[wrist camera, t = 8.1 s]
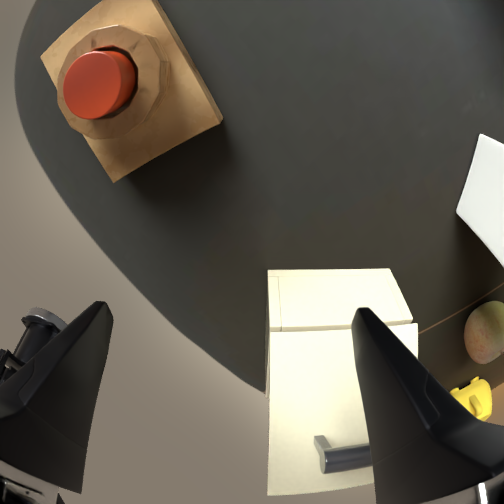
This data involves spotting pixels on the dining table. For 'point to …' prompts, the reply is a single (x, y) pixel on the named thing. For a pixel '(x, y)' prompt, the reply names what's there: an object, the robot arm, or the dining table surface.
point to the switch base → (136, 84)
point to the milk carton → (486, 195)
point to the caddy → (329, 301)
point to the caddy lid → (318, 412)
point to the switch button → (98, 84)
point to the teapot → (475, 398)
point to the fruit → (485, 332)
